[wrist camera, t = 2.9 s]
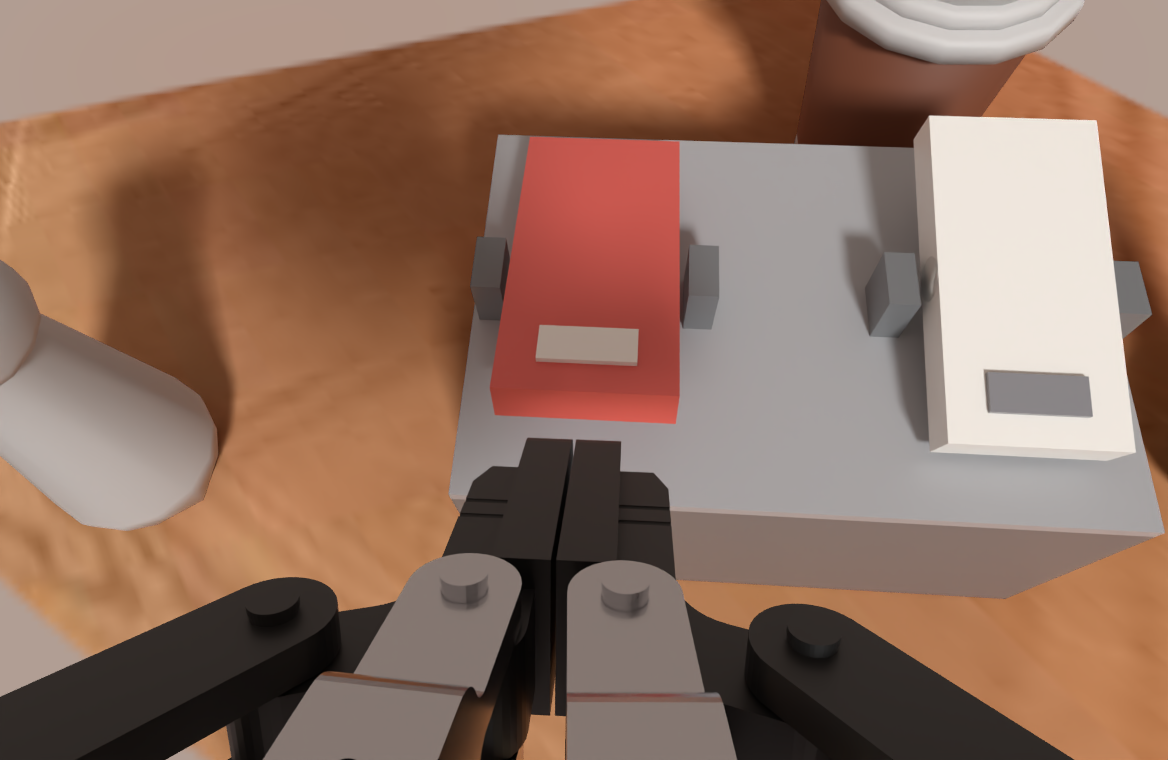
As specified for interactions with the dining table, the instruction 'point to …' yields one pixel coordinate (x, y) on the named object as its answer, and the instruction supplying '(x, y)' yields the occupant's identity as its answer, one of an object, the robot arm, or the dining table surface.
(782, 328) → the switch box
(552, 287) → the red rocker
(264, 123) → the dining table surface
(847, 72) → the coffee cup
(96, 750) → the robot arm
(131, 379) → the salt shaker
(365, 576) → the dining table surface
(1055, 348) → the white rocker
